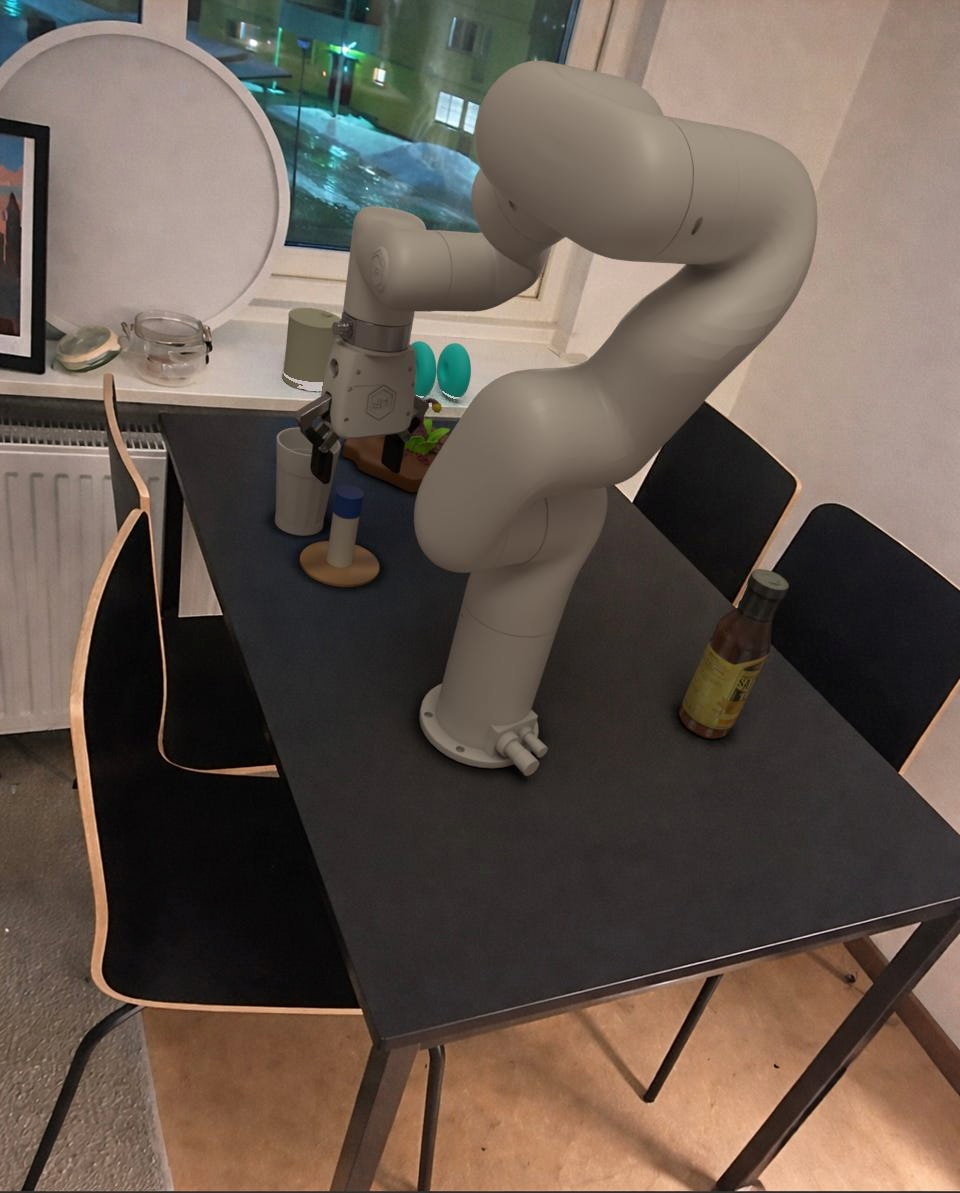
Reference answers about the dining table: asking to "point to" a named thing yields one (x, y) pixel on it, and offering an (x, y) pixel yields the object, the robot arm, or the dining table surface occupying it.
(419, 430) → the plant
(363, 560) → the coaster
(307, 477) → the cup
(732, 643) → the sauce bottle
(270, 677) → the dining table surface
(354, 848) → the dining table surface
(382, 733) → the dining table surface
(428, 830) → the dining table surface
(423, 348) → the teal oval lobes
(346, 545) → the marker
